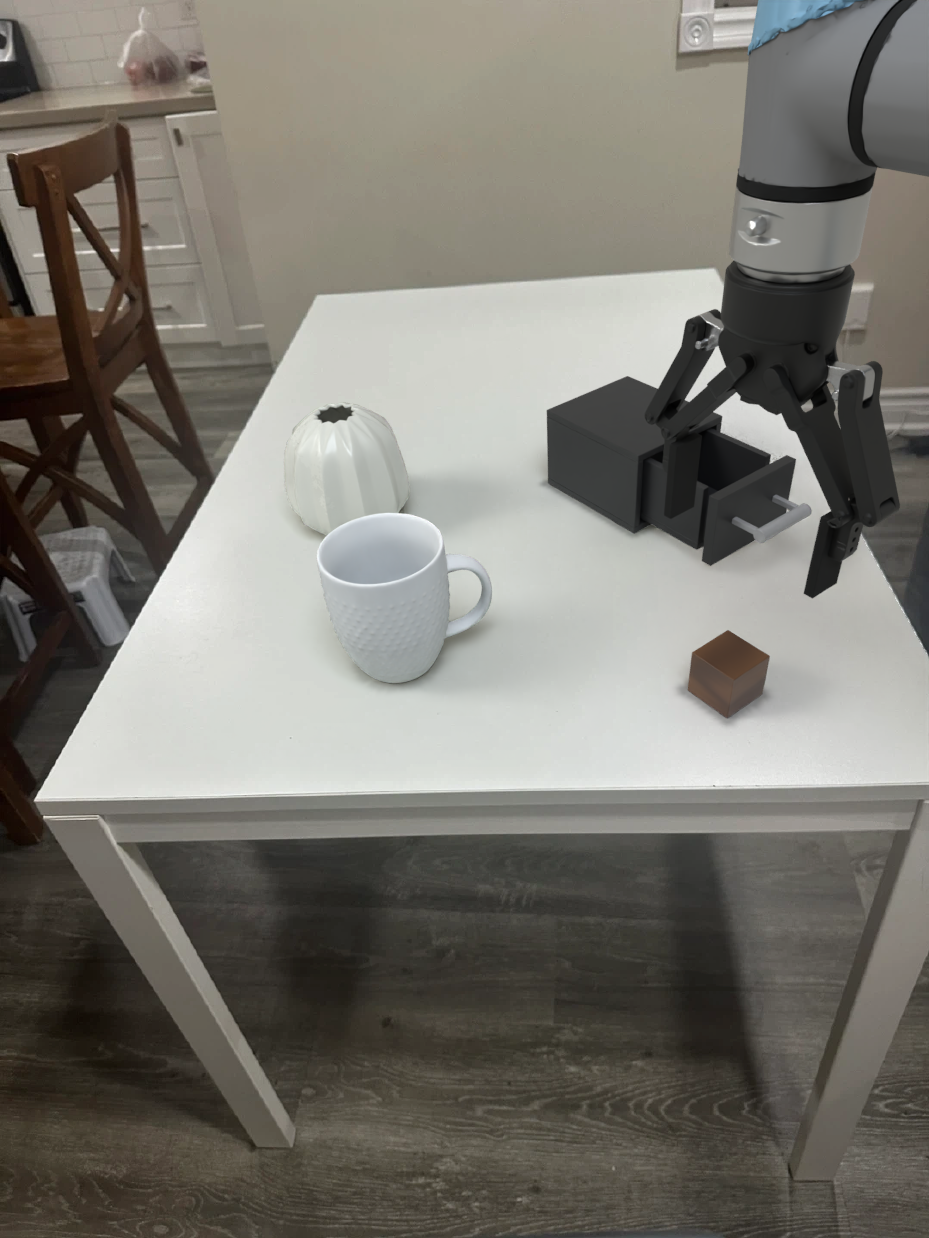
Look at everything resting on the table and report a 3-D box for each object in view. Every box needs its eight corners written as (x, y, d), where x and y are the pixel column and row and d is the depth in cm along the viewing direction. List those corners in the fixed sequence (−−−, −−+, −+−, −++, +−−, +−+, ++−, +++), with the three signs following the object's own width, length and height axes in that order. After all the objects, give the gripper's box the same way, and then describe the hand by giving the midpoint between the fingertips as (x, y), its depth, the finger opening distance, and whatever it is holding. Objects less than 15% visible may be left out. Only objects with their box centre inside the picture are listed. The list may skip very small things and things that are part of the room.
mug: (482, 605, 87) (472, 494, 79) (510, 678, 79) (502, 561, 70) (335, 635, 85) (309, 524, 77) (347, 712, 77) (321, 597, 68)
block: (762, 694, 74) (770, 655, 72) (727, 718, 73) (733, 680, 70) (722, 667, 77) (728, 629, 75) (687, 690, 76) (691, 652, 73)
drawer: (817, 540, 89) (832, 474, 84) (743, 585, 85) (754, 518, 80) (689, 476, 101) (695, 415, 96) (617, 512, 96) (619, 450, 91)
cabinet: (713, 492, 100) (722, 415, 93) (634, 533, 94) (638, 456, 88) (624, 447, 109) (627, 375, 103) (547, 483, 104) (546, 409, 98)
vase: (435, 517, 100) (423, 411, 92) (333, 566, 94) (309, 457, 86) (372, 474, 109) (355, 373, 100) (274, 517, 103) (247, 413, 94)
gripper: (604, 236, 59) (597, 500, 73) (948, 335, 43) (856, 652, 56) (681, 211, 62) (661, 469, 76) (1030, 295, 46) (925, 604, 60)
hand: (744, 547), depth 66 cm, fingers open, 13 cm apart
